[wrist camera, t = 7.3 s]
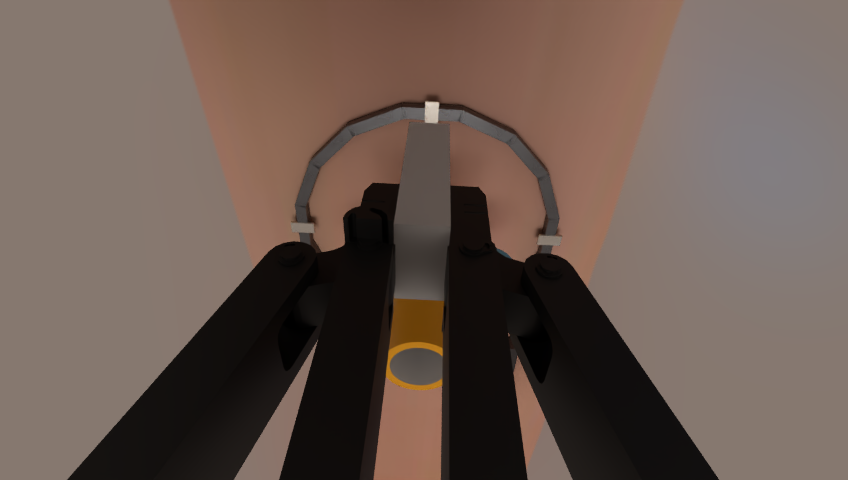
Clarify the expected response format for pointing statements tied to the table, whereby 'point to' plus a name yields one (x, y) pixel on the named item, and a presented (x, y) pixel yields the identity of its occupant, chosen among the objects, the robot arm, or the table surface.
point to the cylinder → (417, 343)
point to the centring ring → (430, 114)
